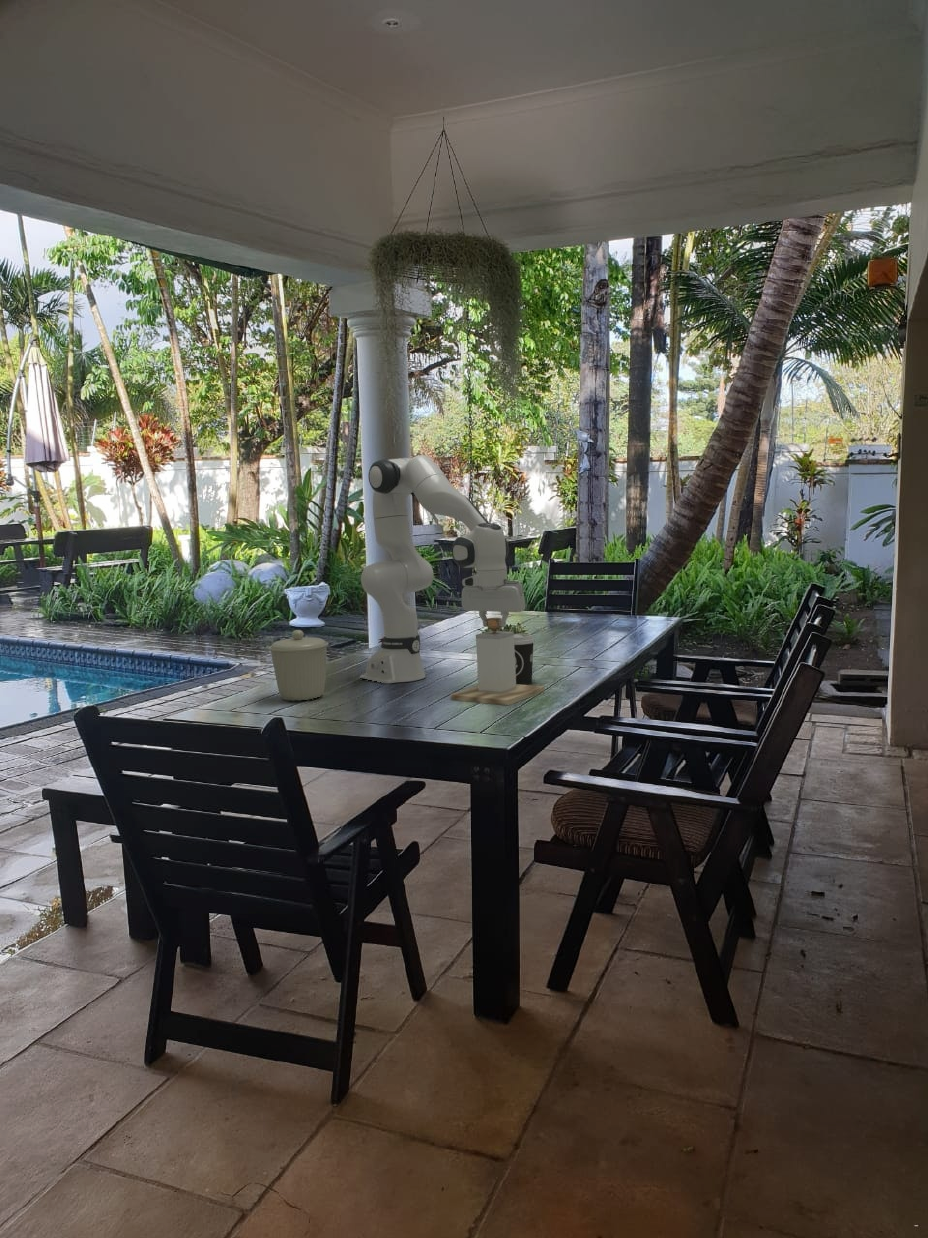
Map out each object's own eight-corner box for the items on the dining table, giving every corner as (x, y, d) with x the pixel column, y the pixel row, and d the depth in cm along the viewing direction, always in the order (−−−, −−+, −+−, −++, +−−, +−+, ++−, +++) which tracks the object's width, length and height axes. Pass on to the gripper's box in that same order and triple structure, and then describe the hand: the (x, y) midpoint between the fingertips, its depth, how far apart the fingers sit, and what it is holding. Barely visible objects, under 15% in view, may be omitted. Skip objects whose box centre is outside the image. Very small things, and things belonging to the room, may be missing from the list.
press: (478, 692, 287) (475, 634, 285) (498, 685, 296) (495, 629, 293) (501, 694, 282) (498, 636, 280) (520, 687, 291) (518, 630, 289)
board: (450, 699, 286) (450, 694, 286) (488, 686, 302) (488, 681, 302) (508, 705, 274) (507, 700, 274) (544, 691, 290) (544, 686, 290)
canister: (326, 689, 311) (321, 623, 308) (337, 700, 294) (332, 630, 291) (268, 696, 305) (263, 629, 303) (276, 707, 288) (271, 636, 285)
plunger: (483, 688, 287) (480, 619, 284) (494, 685, 292) (491, 616, 289) (500, 690, 284) (496, 620, 281) (511, 686, 288) (507, 617, 286)
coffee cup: (534, 686, 299) (532, 637, 297) (503, 686, 301) (501, 638, 299) (538, 680, 308) (536, 632, 306) (508, 680, 310) (506, 633, 308)
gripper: (528, 578, 280) (530, 626, 282) (469, 578, 292) (472, 623, 294) (516, 580, 275) (519, 629, 277) (457, 580, 287) (460, 627, 289)
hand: (494, 626), depth 285 cm, fingers closed on plunger, 4 cm apart
